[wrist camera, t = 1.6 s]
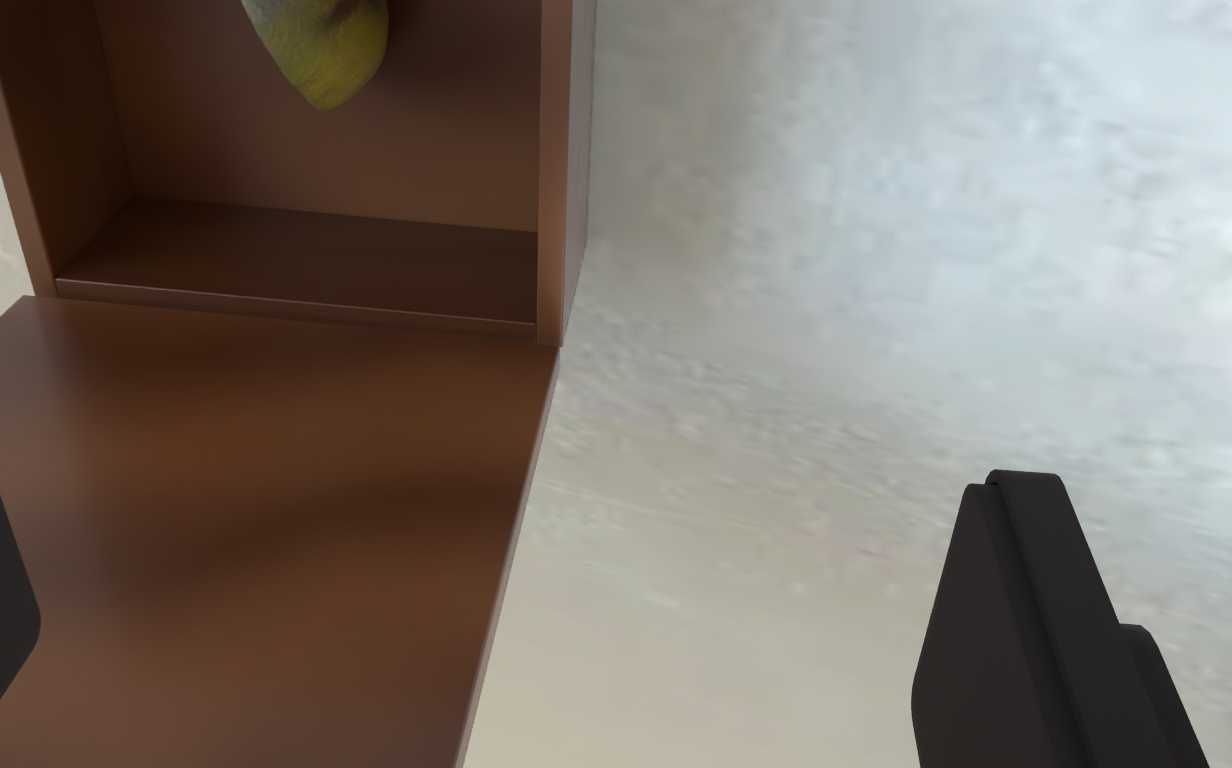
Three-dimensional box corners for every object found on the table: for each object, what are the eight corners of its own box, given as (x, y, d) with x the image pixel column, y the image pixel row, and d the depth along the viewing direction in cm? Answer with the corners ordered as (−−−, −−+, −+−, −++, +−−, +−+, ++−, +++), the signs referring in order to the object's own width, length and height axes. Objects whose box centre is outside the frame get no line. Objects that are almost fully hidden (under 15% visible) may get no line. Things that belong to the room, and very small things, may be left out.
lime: (376, 92, 32) (322, 168, 28) (212, 2, 31) (132, 67, 27) (441, -50, 30) (392, 10, 26) (266, -153, 29) (186, -107, 24)
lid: (-547, 821, 17) (-395, 1007, 20) (413, 934, 16) (426, 1110, 19) (23, 294, 30) (64, 450, 33) (560, 345, 30) (555, 499, 33)
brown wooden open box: (-3, -393, 27) (-160, -386, 22) (611, -352, 26) (582, -335, 21) (127, 204, 36) (34, 298, 31) (586, 246, 35) (562, 348, 30)
